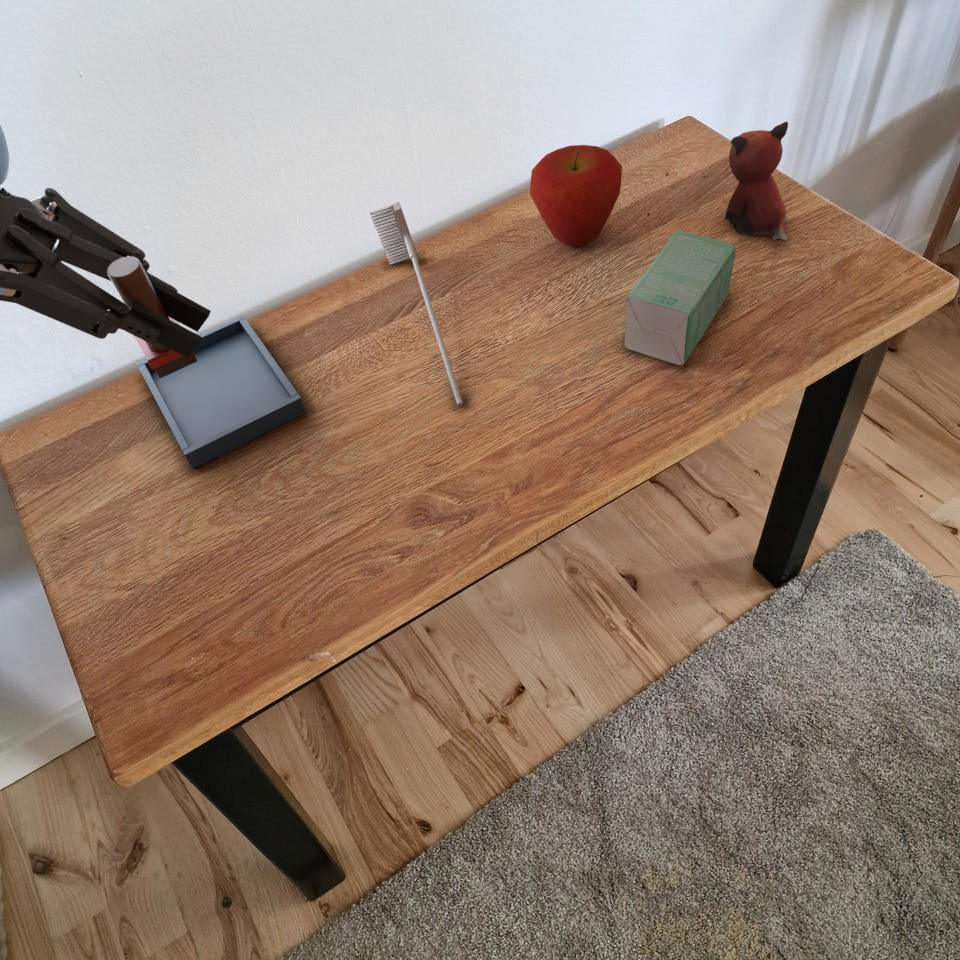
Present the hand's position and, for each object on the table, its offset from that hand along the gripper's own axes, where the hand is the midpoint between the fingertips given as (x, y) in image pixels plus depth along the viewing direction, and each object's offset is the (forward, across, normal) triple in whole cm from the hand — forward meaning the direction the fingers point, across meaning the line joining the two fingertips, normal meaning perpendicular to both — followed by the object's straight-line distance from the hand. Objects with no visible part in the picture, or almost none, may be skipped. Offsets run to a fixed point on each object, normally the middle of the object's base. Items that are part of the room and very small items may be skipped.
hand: (199, 334), depth 80 cm
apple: (+37, -31, +16) cm, 51 cm away
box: (+44, -14, +24) cm, 52 cm away
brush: (+24, -16, +3) cm, 29 cm away
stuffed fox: (+53, -31, +32) cm, 69 cm away
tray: (+7, -6, -13) cm, 16 cm away
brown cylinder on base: (-1, -2, -6) cm, 7 cm away
